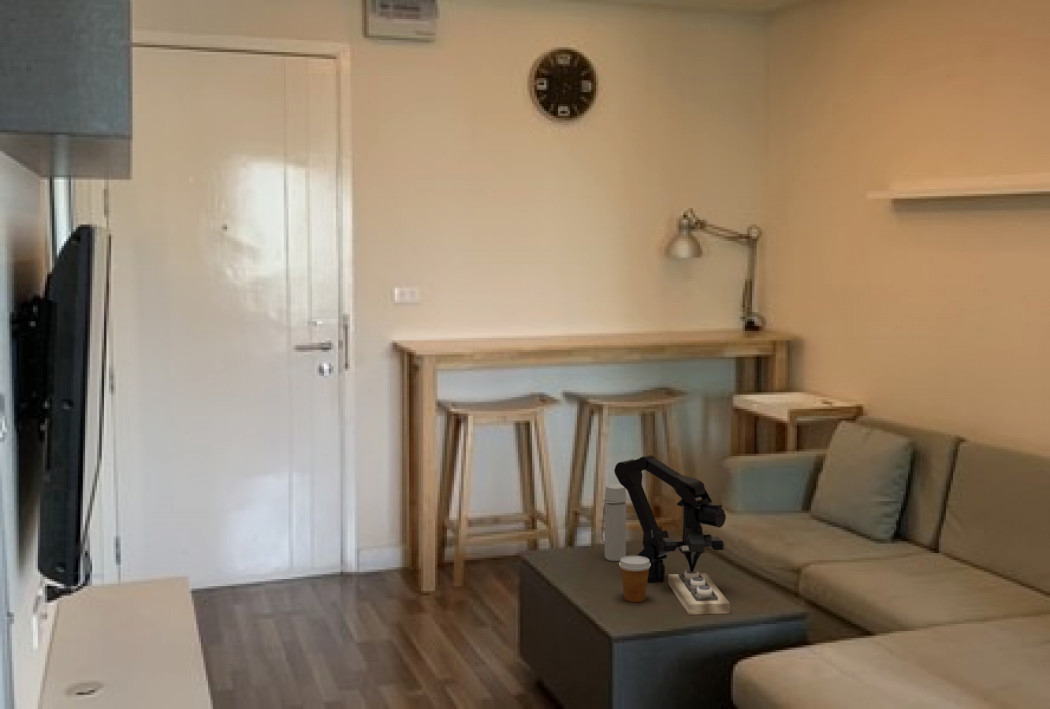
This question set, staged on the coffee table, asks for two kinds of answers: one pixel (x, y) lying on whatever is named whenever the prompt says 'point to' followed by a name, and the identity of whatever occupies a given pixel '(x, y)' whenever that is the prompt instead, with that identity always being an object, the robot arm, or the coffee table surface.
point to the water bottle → (614, 522)
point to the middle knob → (696, 582)
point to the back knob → (690, 574)
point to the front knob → (704, 591)
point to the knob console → (698, 604)
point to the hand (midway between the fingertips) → (691, 571)
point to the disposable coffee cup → (634, 577)
